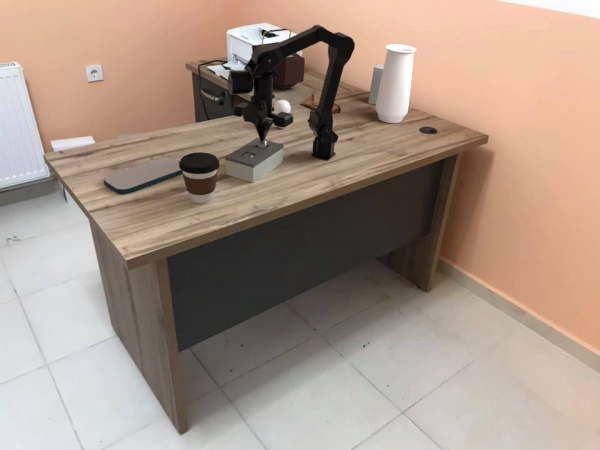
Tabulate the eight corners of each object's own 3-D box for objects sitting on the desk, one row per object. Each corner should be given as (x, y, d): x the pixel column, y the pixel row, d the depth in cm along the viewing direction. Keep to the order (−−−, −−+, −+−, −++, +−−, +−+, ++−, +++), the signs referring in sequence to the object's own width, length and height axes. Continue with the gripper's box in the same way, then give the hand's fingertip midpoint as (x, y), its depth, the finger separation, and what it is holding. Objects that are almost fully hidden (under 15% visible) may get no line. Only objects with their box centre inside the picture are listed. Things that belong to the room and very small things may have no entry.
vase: (406, 126, 196) (419, 53, 181) (373, 122, 198) (383, 50, 183) (405, 115, 207) (417, 45, 192) (374, 111, 209) (384, 42, 194)
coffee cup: (174, 197, 140) (170, 158, 134) (206, 185, 147) (204, 148, 140) (196, 212, 134) (193, 172, 127) (229, 199, 140) (227, 161, 134)
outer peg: (255, 170, 156) (255, 154, 153) (249, 174, 153) (249, 157, 150) (247, 168, 157) (247, 152, 154) (241, 171, 154) (241, 155, 151)
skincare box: (367, 104, 217) (372, 67, 208) (370, 99, 223) (375, 63, 214) (387, 106, 215) (392, 70, 206) (389, 101, 221) (394, 65, 212)
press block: (283, 161, 163) (283, 144, 160) (253, 182, 150) (253, 164, 146) (257, 154, 167) (257, 137, 164) (226, 174, 153) (225, 156, 150)
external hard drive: (168, 160, 160) (167, 155, 159) (190, 172, 154) (189, 167, 153) (100, 183, 145) (99, 177, 144) (121, 198, 139) (120, 192, 138)
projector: (277, 77, 244) (278, 23, 230) (307, 90, 229) (311, 33, 215) (249, 82, 234) (249, 26, 221) (279, 96, 220) (281, 37, 206)
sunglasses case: (297, 103, 212) (304, 89, 211) (307, 109, 217) (314, 95, 216) (326, 116, 201) (333, 101, 200) (336, 122, 206) (343, 107, 205)
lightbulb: (290, 126, 190) (292, 97, 184) (288, 132, 185) (290, 103, 179) (274, 124, 191) (275, 96, 185) (272, 130, 185) (272, 102, 179)
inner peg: (268, 155, 161) (268, 140, 158) (263, 159, 158) (263, 143, 155) (260, 153, 162) (260, 138, 159) (255, 156, 159) (255, 141, 156)
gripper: (221, 92, 146) (223, 142, 154) (276, 105, 139) (274, 156, 147) (242, 83, 154) (243, 131, 163) (295, 95, 147) (292, 144, 156)
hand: (262, 140), depth 157 cm, fingers closed, pressing on inner peg
